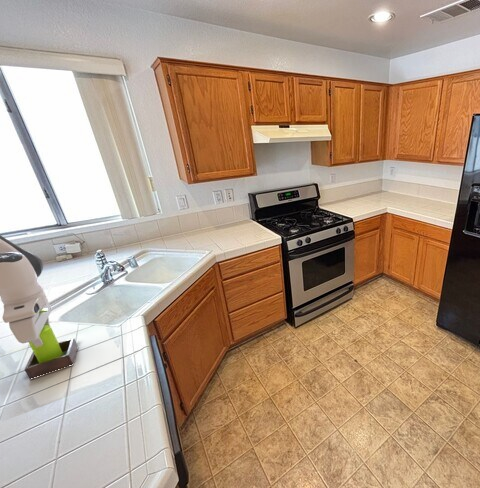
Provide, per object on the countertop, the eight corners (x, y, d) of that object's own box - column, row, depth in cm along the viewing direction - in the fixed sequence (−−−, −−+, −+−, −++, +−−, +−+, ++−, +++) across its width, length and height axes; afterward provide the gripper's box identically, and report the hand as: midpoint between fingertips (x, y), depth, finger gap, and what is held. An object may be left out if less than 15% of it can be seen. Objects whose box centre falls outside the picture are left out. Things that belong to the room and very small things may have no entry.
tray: (30, 380, 85) (24, 369, 83) (38, 360, 93) (33, 349, 91) (73, 365, 90) (68, 355, 89) (78, 347, 99) (74, 337, 97)
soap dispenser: (69, 359, 92) (47, 311, 85) (41, 371, 87) (16, 321, 80) (67, 351, 96) (46, 304, 89) (40, 362, 91) (16, 313, 84)
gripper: (22, 291, 89) (38, 324, 94) (-1, 321, 73) (20, 360, 78) (48, 285, 93) (62, 318, 97) (31, 313, 77) (49, 350, 82)
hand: (43, 337), depth 88 cm, fingers open, 8 cm apart
